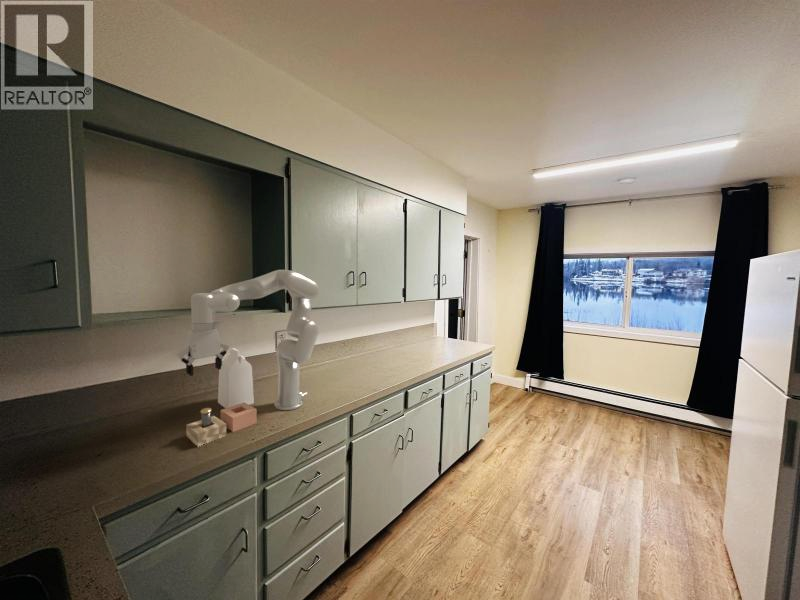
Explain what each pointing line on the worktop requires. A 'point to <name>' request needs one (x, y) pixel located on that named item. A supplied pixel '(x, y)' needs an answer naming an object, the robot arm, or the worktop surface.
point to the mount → (206, 431)
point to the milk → (235, 380)
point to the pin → (206, 417)
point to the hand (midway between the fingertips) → (204, 371)
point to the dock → (239, 416)
